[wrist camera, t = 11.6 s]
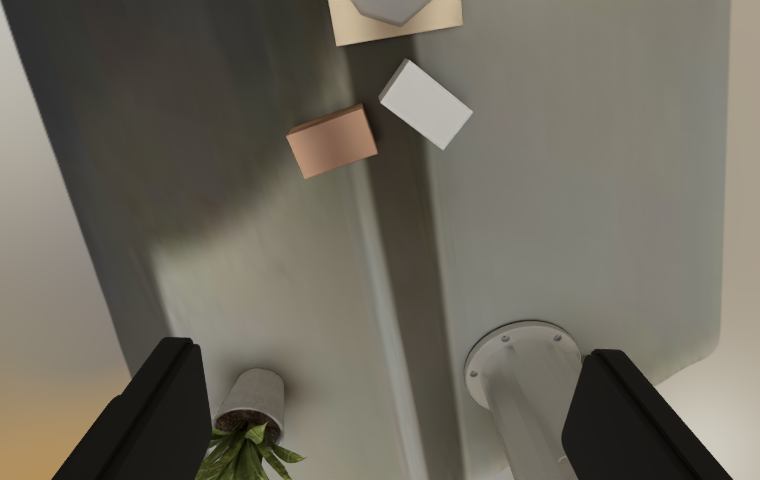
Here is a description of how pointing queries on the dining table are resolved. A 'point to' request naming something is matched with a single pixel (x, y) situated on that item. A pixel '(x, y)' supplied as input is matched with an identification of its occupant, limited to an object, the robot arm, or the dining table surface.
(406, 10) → the flask
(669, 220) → the dining table surface
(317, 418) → the dining table surface
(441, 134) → the grey brick
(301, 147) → the cherry brick
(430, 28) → the oak block
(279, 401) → the house plant
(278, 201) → the dining table surface
